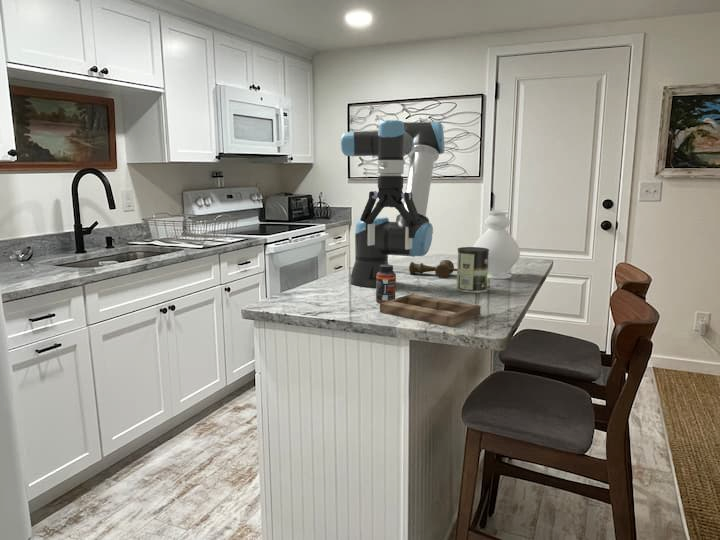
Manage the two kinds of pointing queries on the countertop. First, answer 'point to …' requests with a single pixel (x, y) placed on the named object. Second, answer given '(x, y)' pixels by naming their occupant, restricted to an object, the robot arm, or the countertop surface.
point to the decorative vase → (499, 245)
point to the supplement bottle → (385, 284)
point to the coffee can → (472, 269)
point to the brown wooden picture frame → (430, 309)
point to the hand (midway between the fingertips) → (389, 247)
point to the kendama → (433, 268)
